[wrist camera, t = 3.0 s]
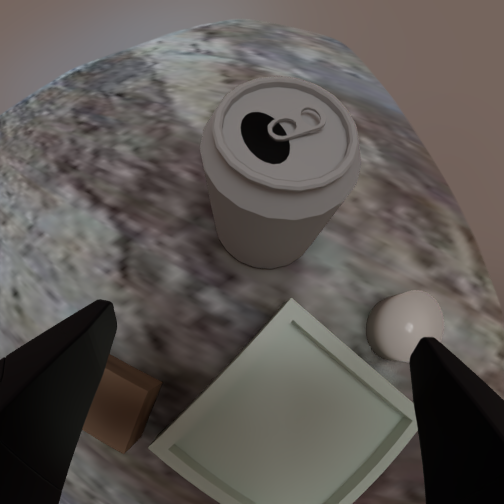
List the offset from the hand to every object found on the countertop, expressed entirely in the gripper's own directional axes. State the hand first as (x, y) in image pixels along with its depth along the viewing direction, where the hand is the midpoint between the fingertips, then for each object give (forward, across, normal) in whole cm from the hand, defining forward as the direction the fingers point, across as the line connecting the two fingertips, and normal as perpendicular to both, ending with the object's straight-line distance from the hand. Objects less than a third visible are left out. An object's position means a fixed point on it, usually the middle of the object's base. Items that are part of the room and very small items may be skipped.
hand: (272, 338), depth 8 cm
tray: (+4, -4, +15) cm, 16 cm away
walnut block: (+5, +9, +14) cm, 17 cm away
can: (+16, 0, +4) cm, 16 cm away
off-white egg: (+11, -11, +9) cm, 18 cm away
